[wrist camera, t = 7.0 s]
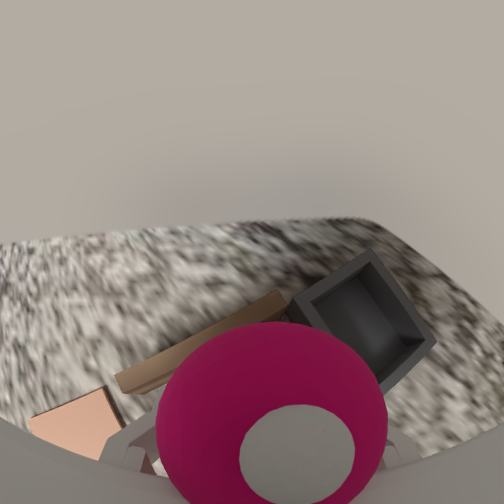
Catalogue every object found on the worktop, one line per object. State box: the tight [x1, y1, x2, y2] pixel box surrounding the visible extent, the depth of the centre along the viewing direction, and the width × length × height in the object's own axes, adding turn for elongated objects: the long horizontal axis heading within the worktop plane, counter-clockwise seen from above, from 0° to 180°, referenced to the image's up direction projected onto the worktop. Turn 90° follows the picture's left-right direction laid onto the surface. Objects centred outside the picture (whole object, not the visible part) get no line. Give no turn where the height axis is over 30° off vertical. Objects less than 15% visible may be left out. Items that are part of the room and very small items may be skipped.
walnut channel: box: [114, 289, 288, 394], centre depth 19 cm, size 13×14×5 cm
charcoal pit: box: [285, 248, 437, 396], centre depth 23 cm, size 11×9×4 cm
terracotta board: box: [28, 388, 123, 461], centre depth 17 cm, size 14×11×1 cm
